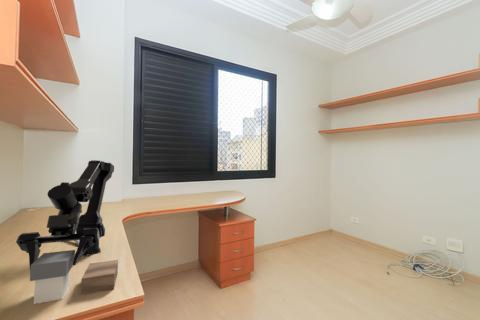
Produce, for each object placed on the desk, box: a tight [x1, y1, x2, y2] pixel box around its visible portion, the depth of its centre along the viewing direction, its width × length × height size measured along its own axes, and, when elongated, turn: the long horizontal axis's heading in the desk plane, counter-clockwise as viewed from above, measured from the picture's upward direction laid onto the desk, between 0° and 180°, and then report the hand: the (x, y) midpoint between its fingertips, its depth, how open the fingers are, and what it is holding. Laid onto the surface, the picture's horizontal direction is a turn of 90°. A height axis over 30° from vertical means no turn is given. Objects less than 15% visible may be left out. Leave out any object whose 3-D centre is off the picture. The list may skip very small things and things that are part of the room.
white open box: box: [33, 270, 71, 305], centre depth 59 cm, size 6×6×10 cm
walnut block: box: [80, 259, 119, 296], centre depth 66 cm, size 10×8×4 cm
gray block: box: [29, 249, 76, 282], centre depth 60 cm, size 8×7×4 cm
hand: (53, 267), depth 59 cm, fingers open, 9 cm apart
